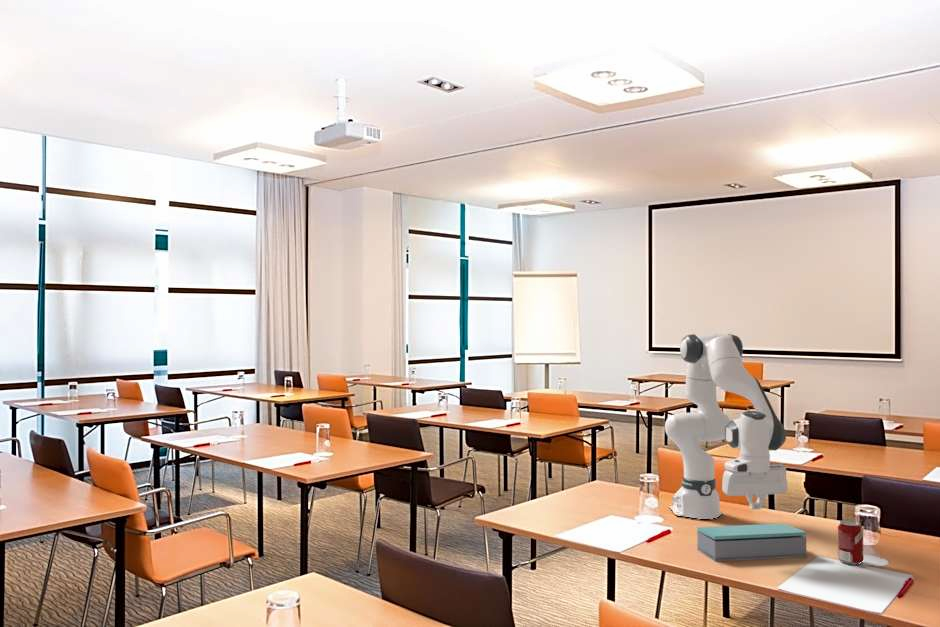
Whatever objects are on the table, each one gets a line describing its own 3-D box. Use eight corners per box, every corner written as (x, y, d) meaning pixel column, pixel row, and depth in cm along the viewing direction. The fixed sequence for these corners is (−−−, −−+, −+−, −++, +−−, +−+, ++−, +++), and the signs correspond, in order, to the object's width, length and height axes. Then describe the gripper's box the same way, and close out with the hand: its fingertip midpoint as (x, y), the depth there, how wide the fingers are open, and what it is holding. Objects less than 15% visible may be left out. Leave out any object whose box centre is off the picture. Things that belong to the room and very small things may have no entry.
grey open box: (697, 549, 235) (697, 531, 235) (784, 545, 239) (784, 527, 239) (715, 561, 223) (714, 541, 223) (806, 556, 227) (806, 537, 228)
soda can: (850, 566, 218) (849, 526, 218) (833, 560, 224) (832, 520, 224) (868, 564, 219) (868, 524, 220) (851, 558, 226) (850, 518, 226)
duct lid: (697, 530, 235) (697, 527, 235) (784, 526, 239) (784, 523, 239) (714, 539, 223) (714, 536, 223) (806, 535, 228) (806, 532, 228)
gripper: (780, 461, 234) (780, 505, 233) (719, 463, 231) (719, 507, 230) (791, 465, 227) (792, 510, 227) (729, 467, 224) (729, 512, 224)
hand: (755, 508), depth 229 cm, fingers closed
